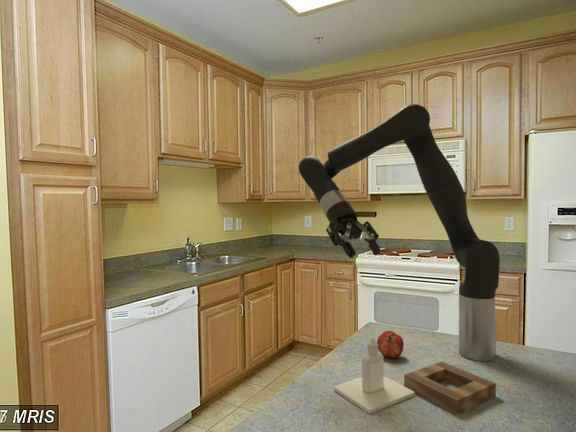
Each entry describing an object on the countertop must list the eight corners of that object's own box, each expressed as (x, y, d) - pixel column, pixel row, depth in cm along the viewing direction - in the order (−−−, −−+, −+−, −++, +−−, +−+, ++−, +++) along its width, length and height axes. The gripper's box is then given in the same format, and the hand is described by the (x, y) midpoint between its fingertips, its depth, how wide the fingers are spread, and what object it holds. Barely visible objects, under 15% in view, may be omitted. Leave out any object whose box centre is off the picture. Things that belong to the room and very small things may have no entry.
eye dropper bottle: (388, 392, 86) (388, 340, 86) (364, 394, 85) (364, 342, 85) (380, 383, 91) (380, 333, 90) (358, 385, 90) (357, 335, 89)
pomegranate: (377, 358, 113) (370, 347, 105) (384, 334, 116) (377, 322, 109) (402, 366, 109) (396, 355, 102) (408, 342, 112) (403, 329, 105)
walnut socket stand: (442, 372, 98) (442, 361, 97) (495, 396, 86) (495, 383, 85) (404, 387, 90) (404, 374, 90) (457, 414, 78) (457, 400, 78)
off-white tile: (376, 375, 97) (376, 372, 97) (414, 395, 86) (414, 392, 86) (333, 389, 89) (333, 386, 89) (369, 413, 79) (369, 410, 79)
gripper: (322, 200, 101) (351, 247, 91) (363, 200, 108) (393, 243, 99) (311, 219, 105) (337, 266, 96) (350, 218, 113) (379, 261, 103)
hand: (366, 254), depth 97 cm, fingers open, 8 cm apart
